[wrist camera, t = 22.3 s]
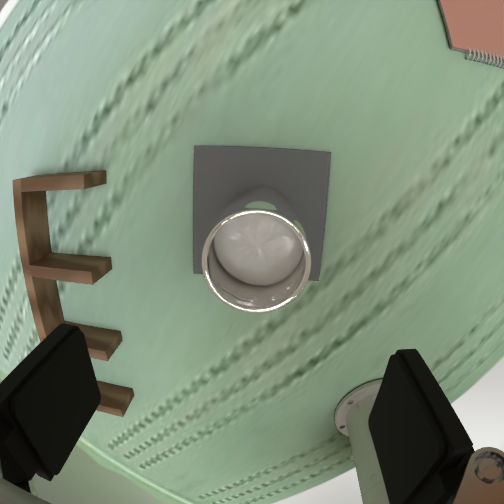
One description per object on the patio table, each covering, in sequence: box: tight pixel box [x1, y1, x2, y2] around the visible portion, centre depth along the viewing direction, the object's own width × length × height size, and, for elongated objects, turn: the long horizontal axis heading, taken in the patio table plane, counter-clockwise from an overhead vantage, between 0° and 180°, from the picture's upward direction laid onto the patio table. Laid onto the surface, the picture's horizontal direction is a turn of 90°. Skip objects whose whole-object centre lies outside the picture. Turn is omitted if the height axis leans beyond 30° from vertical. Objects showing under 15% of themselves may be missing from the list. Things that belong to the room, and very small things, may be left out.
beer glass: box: [202, 187, 311, 313], centre depth 26 cm, size 7×7×15 cm
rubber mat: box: [193, 146, 331, 281], centre depth 33 cm, size 14×14×1 cm
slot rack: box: [13, 171, 134, 417], centre depth 36 cm, size 33×11×5 cm, turn 178°
